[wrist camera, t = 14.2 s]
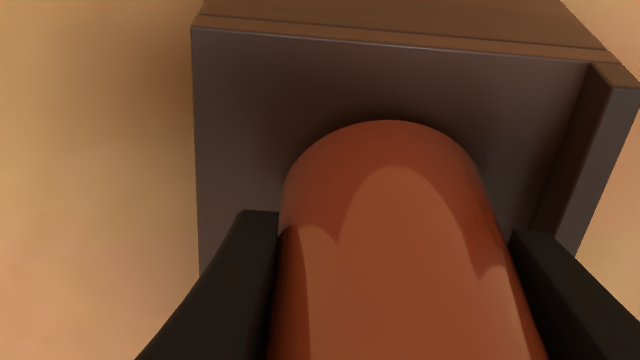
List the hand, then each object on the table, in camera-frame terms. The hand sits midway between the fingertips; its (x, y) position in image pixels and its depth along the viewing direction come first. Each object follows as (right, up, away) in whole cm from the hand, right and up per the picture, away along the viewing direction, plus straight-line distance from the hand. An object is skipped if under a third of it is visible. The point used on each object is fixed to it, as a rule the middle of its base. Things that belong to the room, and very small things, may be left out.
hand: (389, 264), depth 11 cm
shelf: (0, 0, +8) cm, 8 cm away
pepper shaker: (0, +1, +1) cm, 2 cm away
